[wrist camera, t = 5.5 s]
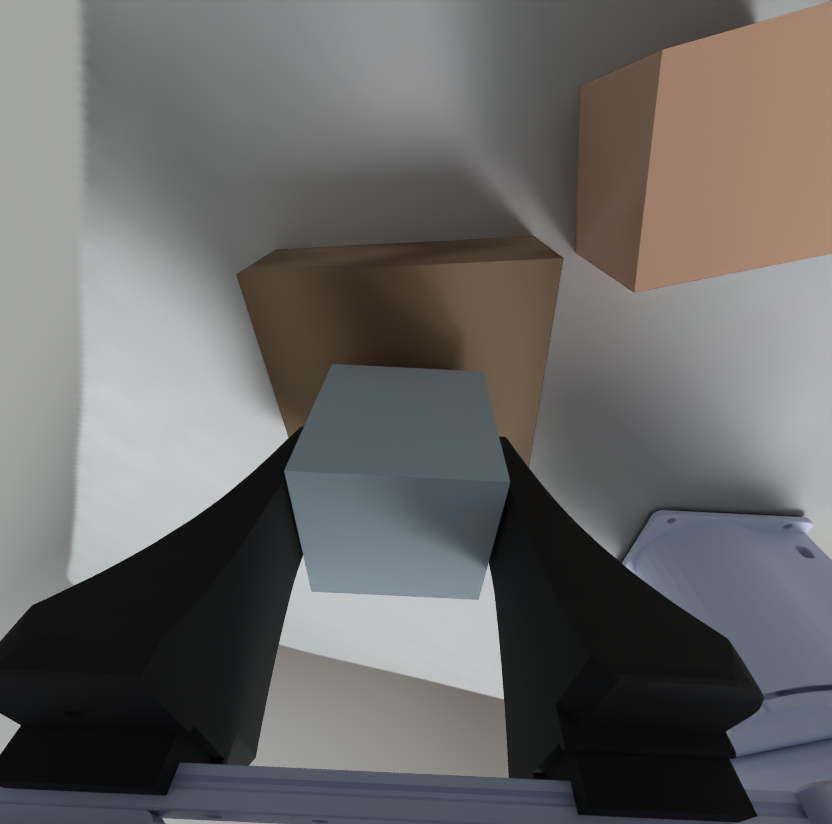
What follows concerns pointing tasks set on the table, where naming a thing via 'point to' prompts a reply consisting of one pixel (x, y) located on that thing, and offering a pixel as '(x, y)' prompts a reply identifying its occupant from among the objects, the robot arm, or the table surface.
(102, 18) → the table surface
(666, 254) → the terracotta cube
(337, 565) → the blue-grey cube
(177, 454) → the table surface
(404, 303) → the walnut slab
